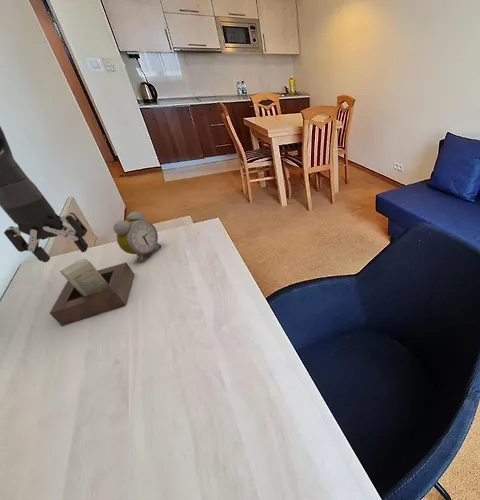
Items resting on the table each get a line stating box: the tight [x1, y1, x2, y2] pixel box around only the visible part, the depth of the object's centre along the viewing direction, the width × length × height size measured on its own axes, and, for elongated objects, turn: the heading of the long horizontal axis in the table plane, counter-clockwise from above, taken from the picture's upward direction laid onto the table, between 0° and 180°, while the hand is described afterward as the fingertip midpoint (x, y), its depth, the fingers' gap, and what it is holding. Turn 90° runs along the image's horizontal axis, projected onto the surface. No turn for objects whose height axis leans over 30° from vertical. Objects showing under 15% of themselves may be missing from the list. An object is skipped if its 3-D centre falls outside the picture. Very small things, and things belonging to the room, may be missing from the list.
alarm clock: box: [112, 210, 162, 263], centre depth 102 cm, size 12×7×15 cm, turn 171°
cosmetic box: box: [59, 258, 108, 297], centre depth 85 cm, size 6×4×12 cm
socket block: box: [49, 262, 135, 327], centre depth 88 cm, size 16×16×5 cm
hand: (66, 255), depth 80 cm, fingers open, 8 cm apart
